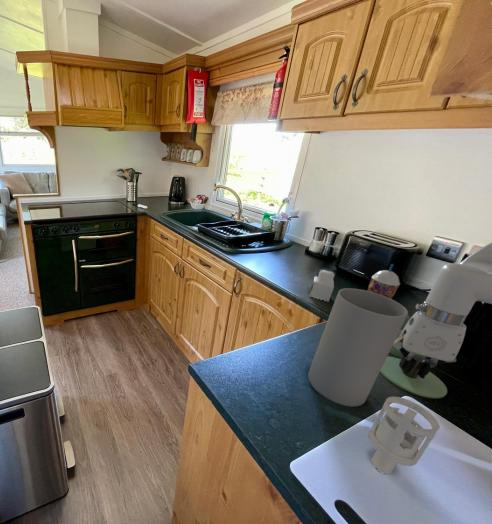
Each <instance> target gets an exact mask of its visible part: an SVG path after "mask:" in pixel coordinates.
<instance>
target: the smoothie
mask: <svg viewBox="0 0 492 524" xmlns="http://www.w3.org/2000/svg"><path fill="white" fill-rule="evenodd" d="M393 267H394V263H390V266H389V268H388V270H387V269H385V270H384V269H383V270H379V271H377V272H375V273H374V274H373V275H372V276H371V279H370V281H369V285H368V288H367V290H366V291H370V292H373V293H377V294H380V295H382V296H385V297H387V298H390V299H392V300H393V297H394V295H395V293H396V292H397V290H398V288H399V286H400V285H401V282H400V278H399V275H397V274H396V273H395V272H394V271H392V270H393Z"/></svg>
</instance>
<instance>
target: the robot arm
mask: <svg viewBox="0 0 492 524" xmlns="http://www.w3.org/2000/svg"><path fill="white" fill-rule="evenodd" d="M477 302H483V303H486V304H490V305H492V242H490V243H488V244H486V245H484V246H482V247H480V248H479V249H477V250H476V251H474V252H473V253H471V254H469V256H467V257H466V258H464V259H463V260H462V261H461V262H459V263H447V264H444V265H443V266H442V267H441V269H440V271H439V273H438V275H437V276H436V279H435V280H434V283H433V284H432V287H431V288H430V291H429V293H428V295H427V297H426V298H425V300H424V301H423V302H422V303H416V304H415V309H416V310H417V311H416V312H415V313H414V314H413V315H412V316H410V317H411V319H410V320H409V321H408V323H407V324H406V326H405V327H404V329H403V331H402V332H401V334H400V337H398V338H397V339H395V341H394V343H393V347H395V348H396V349H397V350H399V351H400V352H401V353H402V354H403V357H402V358H400V359H401V361H400V363H399V366H400V368H401V370H402V371H403V373H405V374H407V373H408V371H409V370H410V368H411V366H412V364H413V362H412V358H413V357H414V355H415V354H419V355H423V356H426V358H425V359H424V360H425V361H426V362H425V364H424V366H423V367H422V369H421V371H420V373H419V377H420V378H423V379H424V377H425V376H426V375H428V373H429V372H431V369H432V368H435V367H436V366H438V365H441V364H445V363H447V364H448V363H456V362H457V355H458V354H459V352H460V349H461V347H462V345H463V342H464V339H465V336H466V331H467V325H466V324H465V323H464V322H465V321H466V319H467V318H468V316H469V314H470V312H471V310H472V308H473V306H474V305H475V304H476V303H477ZM402 344H403V346H401V345H402Z"/></svg>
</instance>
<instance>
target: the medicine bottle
mask: <svg viewBox="0 0 492 524" xmlns="http://www.w3.org/2000/svg"><path fill="white" fill-rule="evenodd" d="M336 275H337V274H336V272H335V271H334V270H332V269H329V268H325V267H324V268H319V269H318V270H317V273H316V276H314V277H313V280H312V283H311V285H310V288H309V295H308V297H309V298H311V297H313V298H312V299H315V298H316V299H315V300H319V299H320V300H319V301H322V300H324V301H323V302H326V301H327V303H329V302H330V299H331V298H332V294H333V291H334V288H335V281H334V280H335V277H336Z"/></svg>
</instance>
